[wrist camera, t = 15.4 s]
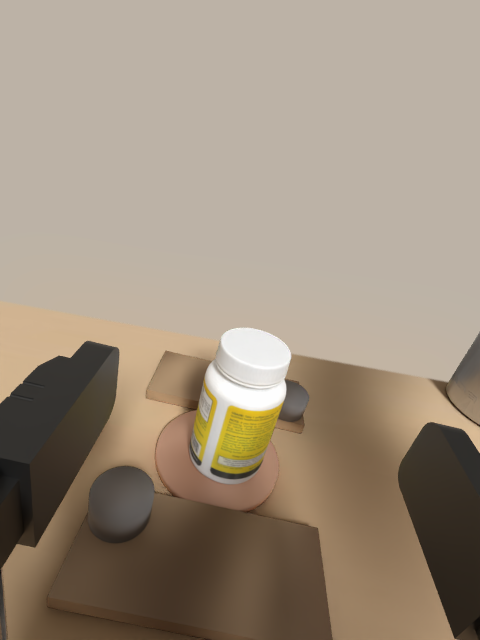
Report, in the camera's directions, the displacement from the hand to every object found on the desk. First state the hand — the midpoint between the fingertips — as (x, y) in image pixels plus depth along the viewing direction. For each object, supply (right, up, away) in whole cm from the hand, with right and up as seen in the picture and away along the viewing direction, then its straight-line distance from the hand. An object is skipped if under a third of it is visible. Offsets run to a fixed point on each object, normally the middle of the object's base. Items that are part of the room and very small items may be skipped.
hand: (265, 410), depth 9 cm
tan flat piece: (-2, -7, +14) cm, 16 cm away
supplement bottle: (-2, -6, +14) cm, 16 cm away
